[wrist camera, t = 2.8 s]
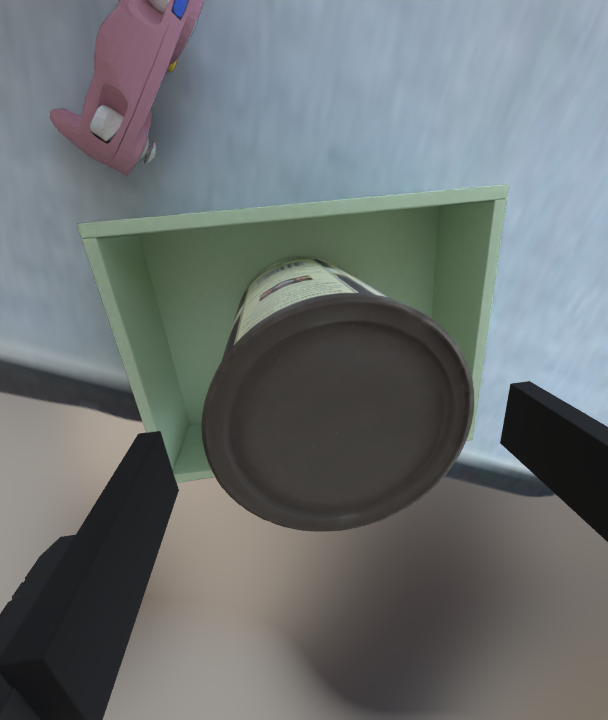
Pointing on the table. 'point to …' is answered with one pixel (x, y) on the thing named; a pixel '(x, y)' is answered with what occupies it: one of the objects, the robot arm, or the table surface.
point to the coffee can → (333, 400)
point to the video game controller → (128, 79)
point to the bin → (261, 249)
